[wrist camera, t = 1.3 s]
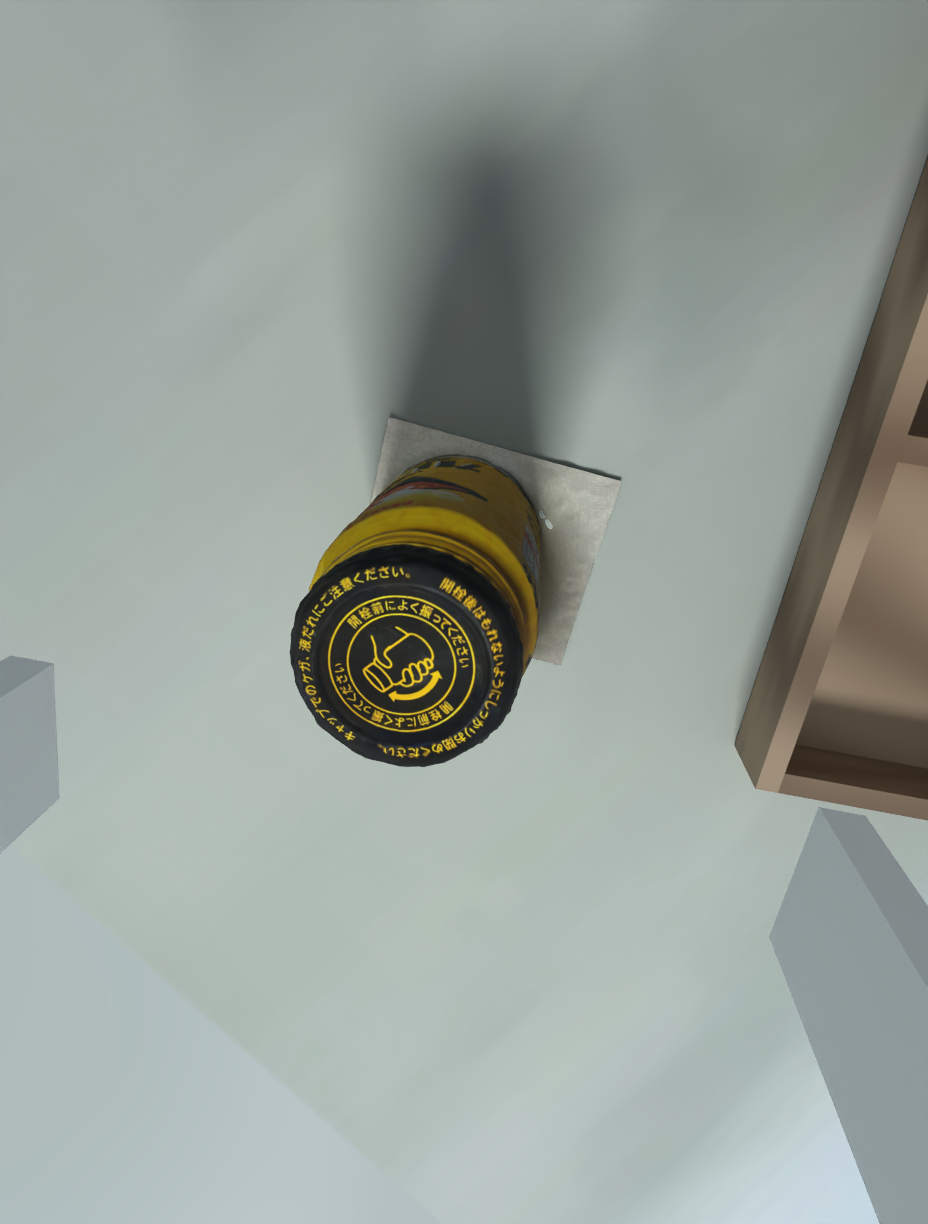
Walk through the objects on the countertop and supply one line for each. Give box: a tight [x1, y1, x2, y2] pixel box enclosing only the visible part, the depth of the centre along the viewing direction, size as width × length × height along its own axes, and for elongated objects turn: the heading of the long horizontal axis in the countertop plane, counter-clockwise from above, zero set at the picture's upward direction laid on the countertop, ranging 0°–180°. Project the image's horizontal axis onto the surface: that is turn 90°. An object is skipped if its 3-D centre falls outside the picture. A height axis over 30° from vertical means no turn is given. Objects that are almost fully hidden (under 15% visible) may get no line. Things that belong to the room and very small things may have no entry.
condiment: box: [290, 417, 622, 767], centre depth 22 cm, size 7×8×12 cm
